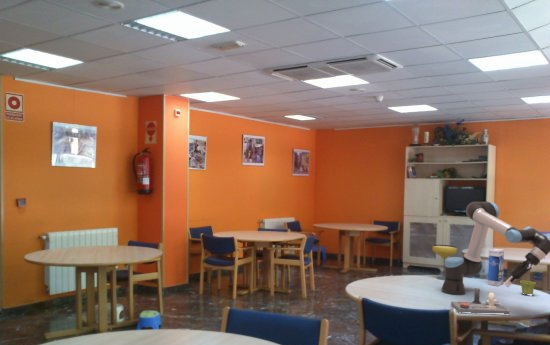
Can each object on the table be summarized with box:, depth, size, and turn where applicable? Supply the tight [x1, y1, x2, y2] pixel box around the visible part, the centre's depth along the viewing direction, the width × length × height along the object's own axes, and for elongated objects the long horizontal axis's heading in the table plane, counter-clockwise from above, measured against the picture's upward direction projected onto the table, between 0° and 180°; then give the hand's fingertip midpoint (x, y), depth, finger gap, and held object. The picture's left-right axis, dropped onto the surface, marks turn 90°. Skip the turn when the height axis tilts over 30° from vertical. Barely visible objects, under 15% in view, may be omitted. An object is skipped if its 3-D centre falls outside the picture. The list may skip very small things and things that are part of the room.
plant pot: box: [519, 280, 536, 295], centre depth 322 cm, size 9×9×9 cm
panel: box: [450, 300, 511, 314], centre depth 280 cm, size 28×16×5 cm, turn 86°
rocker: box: [485, 298, 499, 304], centre depth 284 cm, size 6×4×2 cm, turn 86°
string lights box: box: [487, 248, 505, 287], centre depth 353 cm, size 13×8×26 cm, turn 139°
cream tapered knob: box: [487, 291, 496, 309], centre depth 275 cm, size 4×3×9 cm
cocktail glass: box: [432, 244, 458, 281], centre depth 367 cm, size 18×18×25 cm
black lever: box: [471, 288, 482, 304], centre depth 284 cm, size 4×3×9 cm
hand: (505, 285), depth 275 cm, fingers closed
